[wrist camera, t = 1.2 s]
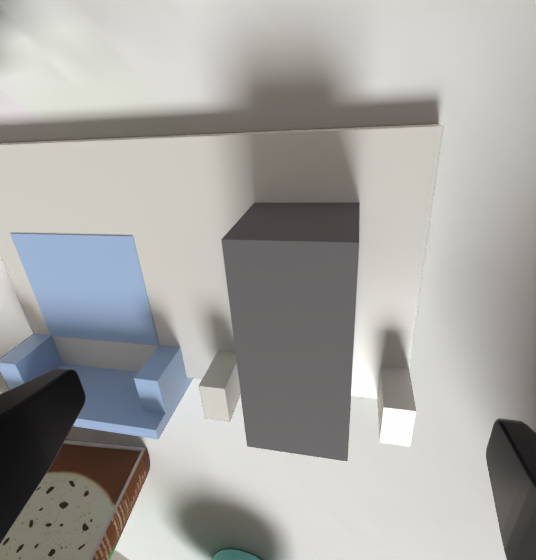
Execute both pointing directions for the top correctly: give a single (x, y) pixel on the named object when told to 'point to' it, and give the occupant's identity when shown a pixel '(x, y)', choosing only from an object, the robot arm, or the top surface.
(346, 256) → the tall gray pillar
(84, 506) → the food container
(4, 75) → the top surface
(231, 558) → the cupcake
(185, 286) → the miniature room diorama
